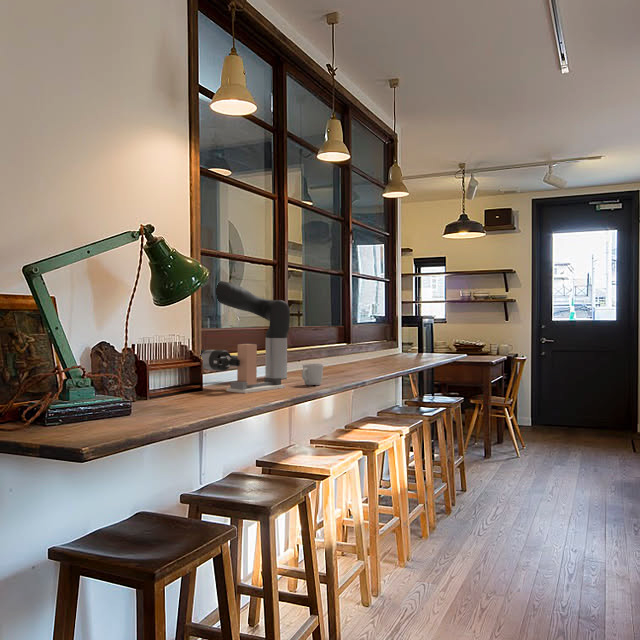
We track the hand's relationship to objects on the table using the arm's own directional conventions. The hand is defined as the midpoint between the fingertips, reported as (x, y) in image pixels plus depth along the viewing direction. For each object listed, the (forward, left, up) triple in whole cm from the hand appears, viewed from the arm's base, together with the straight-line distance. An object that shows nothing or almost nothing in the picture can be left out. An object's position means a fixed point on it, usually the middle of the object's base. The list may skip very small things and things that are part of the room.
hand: (247, 362), depth 211 cm
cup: (-23, +18, -10) cm, 31 cm away
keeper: (0, 0, -8) cm, 8 cm away
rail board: (-5, +2, -10) cm, 11 cm away
